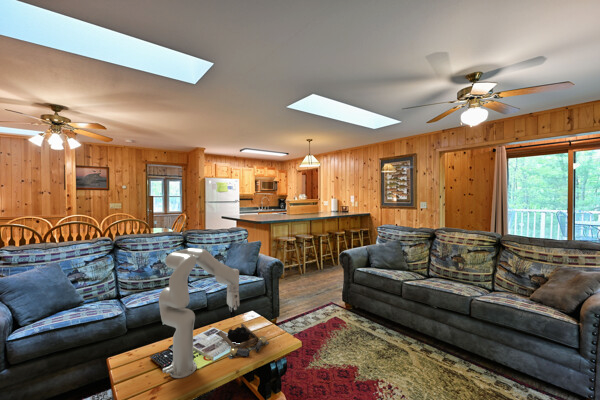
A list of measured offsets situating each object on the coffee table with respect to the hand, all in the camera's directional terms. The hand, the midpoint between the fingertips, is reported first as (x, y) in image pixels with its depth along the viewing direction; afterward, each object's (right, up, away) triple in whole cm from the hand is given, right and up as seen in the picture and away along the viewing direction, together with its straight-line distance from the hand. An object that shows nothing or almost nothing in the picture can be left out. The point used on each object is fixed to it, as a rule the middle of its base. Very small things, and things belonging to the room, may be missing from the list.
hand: (232, 316), depth 170 cm
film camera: (+7, -12, -7) cm, 15 cm away
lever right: (+20, -11, -14) cm, 27 cm away
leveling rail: (+14, -12, -17) cm, 25 cm away
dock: (+5, -12, -5) cm, 14 cm away
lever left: (+10, -11, -22) cm, 27 cm away
